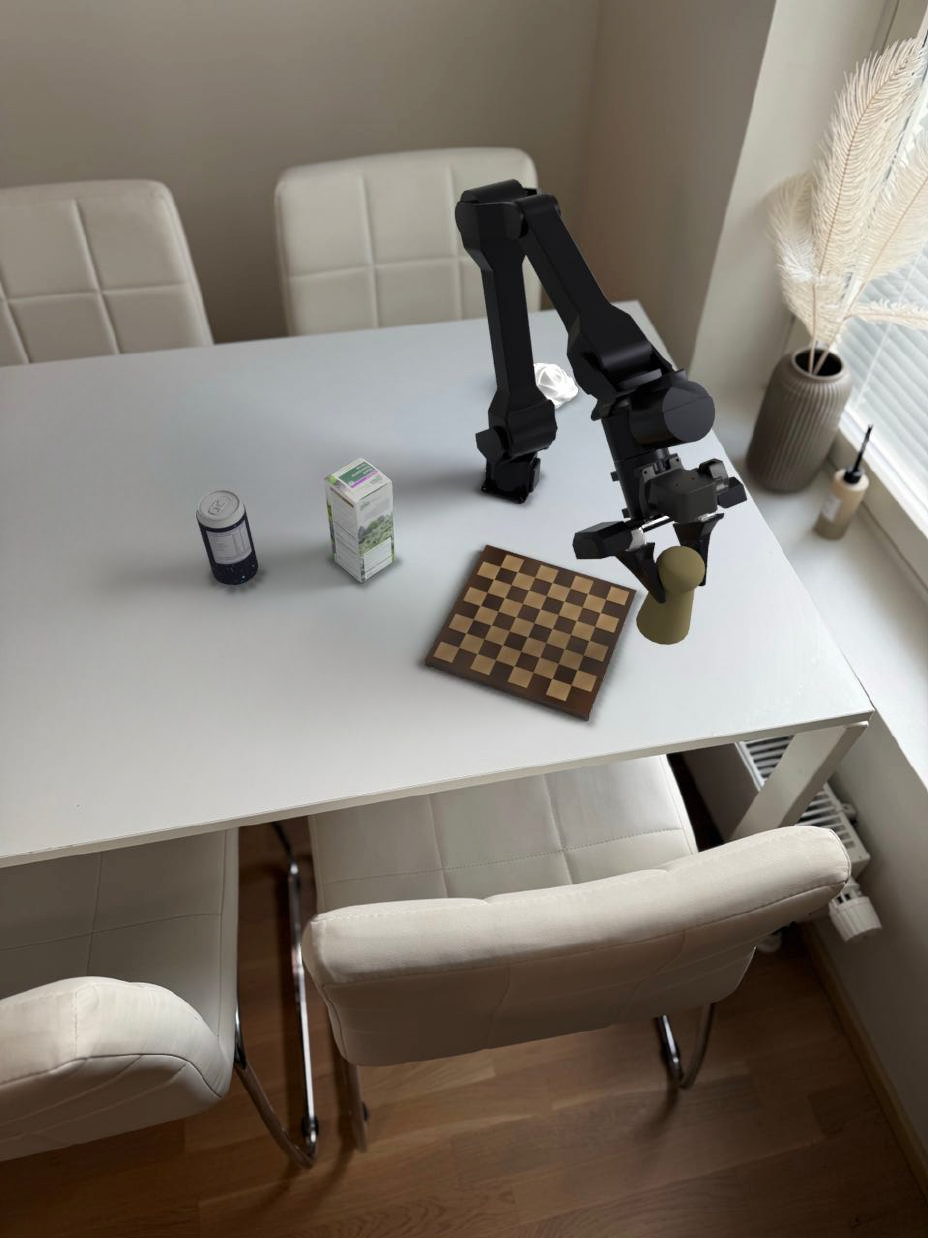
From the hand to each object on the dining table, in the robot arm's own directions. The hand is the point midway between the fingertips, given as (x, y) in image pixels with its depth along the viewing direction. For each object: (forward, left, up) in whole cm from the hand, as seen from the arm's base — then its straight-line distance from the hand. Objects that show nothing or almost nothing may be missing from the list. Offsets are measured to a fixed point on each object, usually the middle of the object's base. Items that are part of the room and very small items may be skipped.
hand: (682, 594), depth 98 cm
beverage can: (-53, -7, -13) cm, 55 cm away
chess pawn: (-1, +1, -7) cm, 7 cm away
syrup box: (-39, +1, -13) cm, 41 cm away
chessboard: (-15, -1, -13) cm, 20 cm away
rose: (-29, +43, -13) cm, 54 cm away
